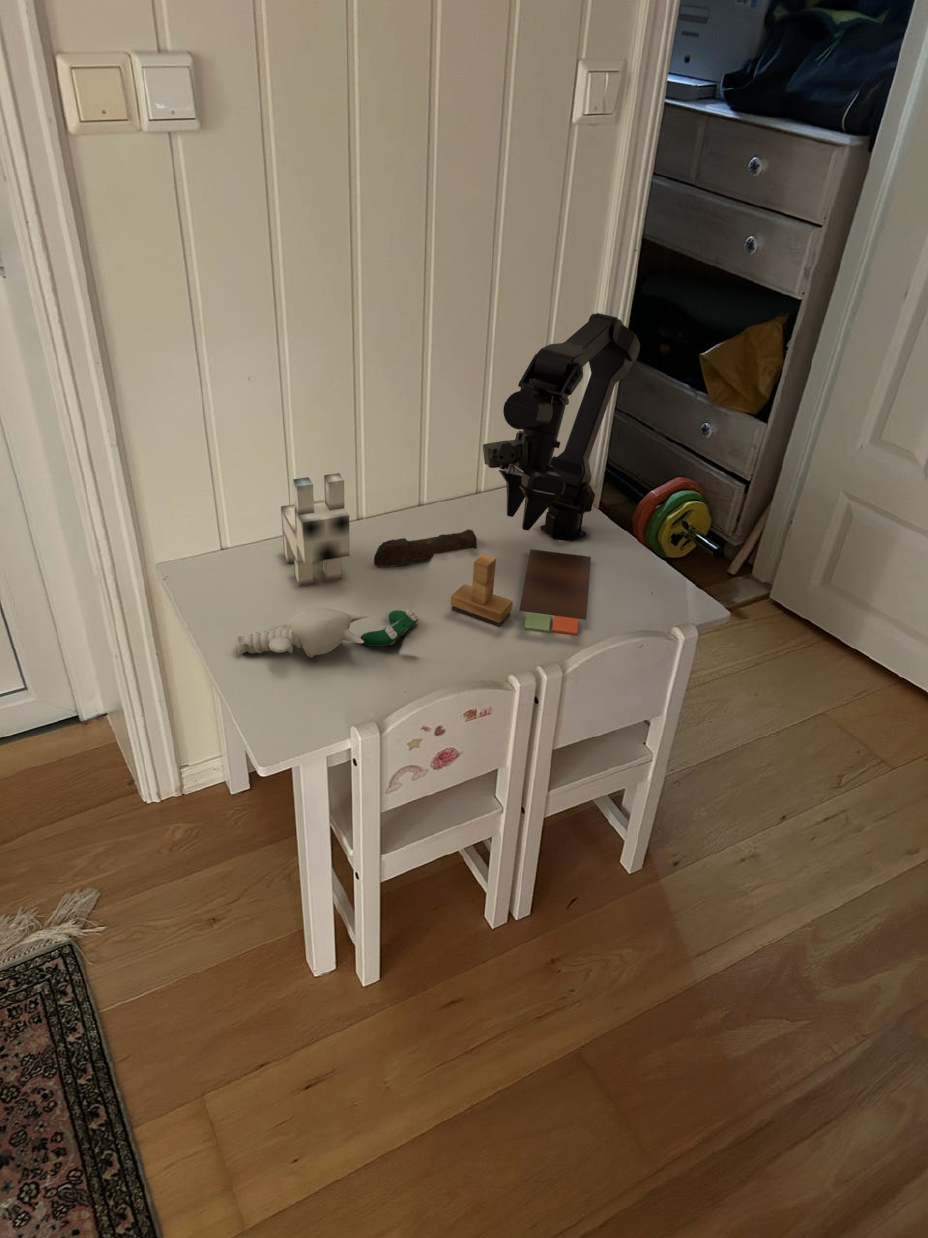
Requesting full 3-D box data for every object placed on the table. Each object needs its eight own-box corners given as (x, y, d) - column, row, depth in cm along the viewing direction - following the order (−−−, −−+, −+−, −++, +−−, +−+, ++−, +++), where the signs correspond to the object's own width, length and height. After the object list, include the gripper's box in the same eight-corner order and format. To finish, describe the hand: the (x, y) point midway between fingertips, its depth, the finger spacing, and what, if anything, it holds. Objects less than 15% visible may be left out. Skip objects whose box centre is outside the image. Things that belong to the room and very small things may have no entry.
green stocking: (369, 659, 145) (392, 647, 140) (355, 638, 144) (378, 626, 140) (403, 630, 151) (426, 618, 147) (390, 611, 151) (413, 598, 146)
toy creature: (240, 608, 145) (367, 592, 145) (249, 652, 147) (374, 637, 147) (223, 631, 133) (362, 614, 133) (233, 679, 135) (370, 662, 135)
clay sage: (525, 622, 152) (526, 612, 151) (549, 626, 151) (551, 616, 150) (523, 637, 149) (524, 627, 147) (547, 640, 148) (549, 630, 147)
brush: (462, 604, 155) (466, 545, 148) (510, 621, 152) (517, 561, 145) (449, 617, 152) (453, 557, 145) (498, 635, 149) (504, 574, 142)
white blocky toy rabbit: (321, 542, 169) (317, 440, 157) (350, 594, 156) (348, 487, 144) (280, 549, 166) (273, 446, 154) (306, 602, 153) (301, 493, 141)
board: (529, 555, 169) (530, 548, 168) (589, 563, 168) (591, 556, 167) (518, 618, 153) (519, 610, 152) (585, 627, 152) (586, 619, 151)
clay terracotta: (552, 625, 152) (554, 615, 150) (577, 628, 151) (578, 618, 150) (550, 639, 148) (552, 629, 147) (575, 643, 148) (577, 633, 147)
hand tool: (469, 544, 171) (470, 522, 168) (477, 555, 168) (479, 532, 165) (370, 559, 165) (369, 537, 162) (376, 571, 162) (376, 548, 159)
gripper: (480, 411, 156) (458, 501, 161) (510, 429, 139) (485, 529, 144) (541, 425, 159) (519, 512, 164) (578, 443, 142) (552, 540, 147)
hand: (517, 522), depth 154 cm, fingers open, 9 cm apart
